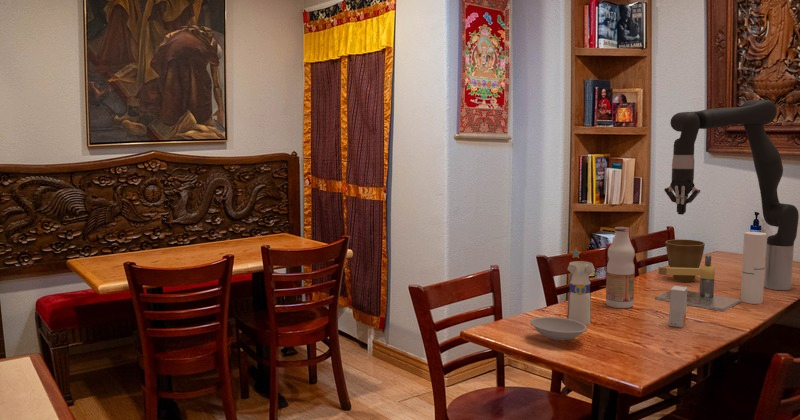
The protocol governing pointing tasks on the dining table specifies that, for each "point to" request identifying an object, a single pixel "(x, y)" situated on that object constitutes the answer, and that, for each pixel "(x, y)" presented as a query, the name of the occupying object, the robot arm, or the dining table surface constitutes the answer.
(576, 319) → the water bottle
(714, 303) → the square base plate stand
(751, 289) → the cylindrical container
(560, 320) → the dish
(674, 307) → the skincare box
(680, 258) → the plant pot
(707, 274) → the lever handle
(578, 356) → the dining table surface
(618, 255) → the fruit juice
